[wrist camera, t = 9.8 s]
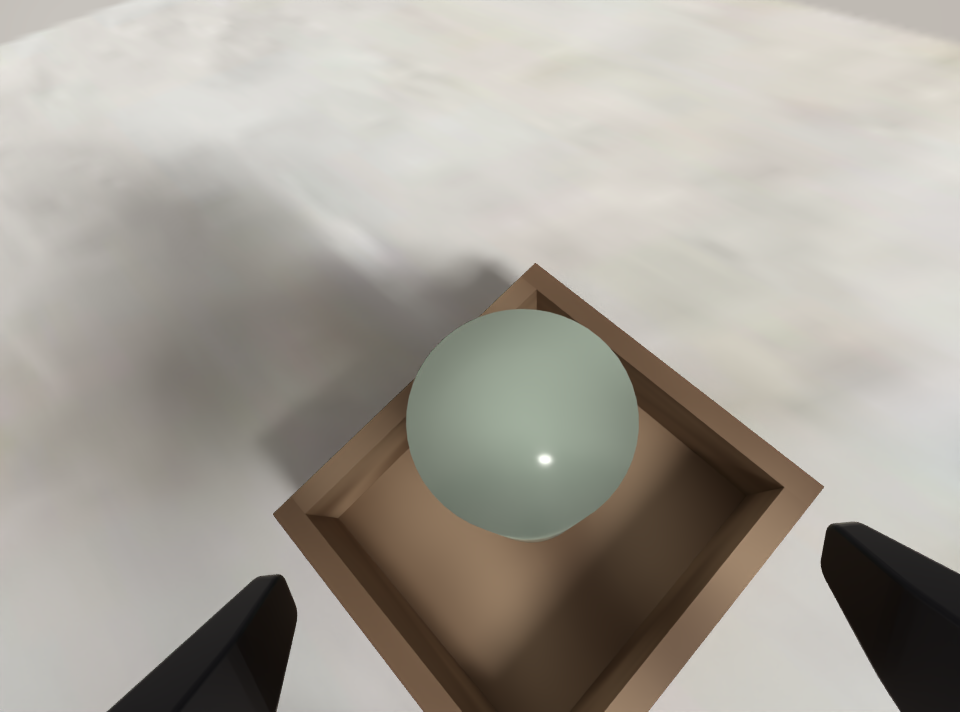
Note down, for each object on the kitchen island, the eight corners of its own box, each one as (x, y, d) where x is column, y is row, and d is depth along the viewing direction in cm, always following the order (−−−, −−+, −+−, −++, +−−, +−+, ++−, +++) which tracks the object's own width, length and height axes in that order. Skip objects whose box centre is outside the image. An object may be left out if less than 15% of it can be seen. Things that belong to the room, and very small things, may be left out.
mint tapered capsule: (562, 564, 17) (589, 582, 8) (452, 510, 18) (365, 472, 9) (604, 450, 19) (670, 354, 9) (499, 407, 20) (465, 281, 10)
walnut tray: (534, 791, 16) (534, 856, 12) (316, 518, 20) (272, 514, 16) (772, 496, 18) (824, 486, 15) (535, 304, 22) (535, 263, 19)
